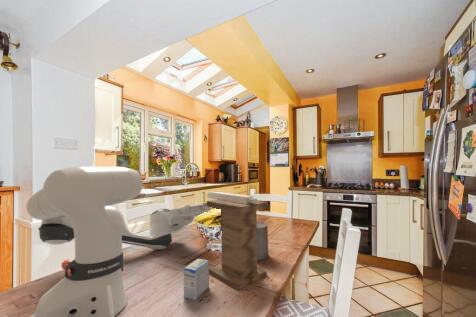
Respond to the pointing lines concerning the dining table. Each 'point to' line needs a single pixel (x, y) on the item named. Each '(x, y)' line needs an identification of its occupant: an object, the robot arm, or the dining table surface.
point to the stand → (238, 243)
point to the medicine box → (196, 278)
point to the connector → (231, 197)
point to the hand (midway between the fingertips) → (197, 205)
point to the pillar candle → (262, 241)
